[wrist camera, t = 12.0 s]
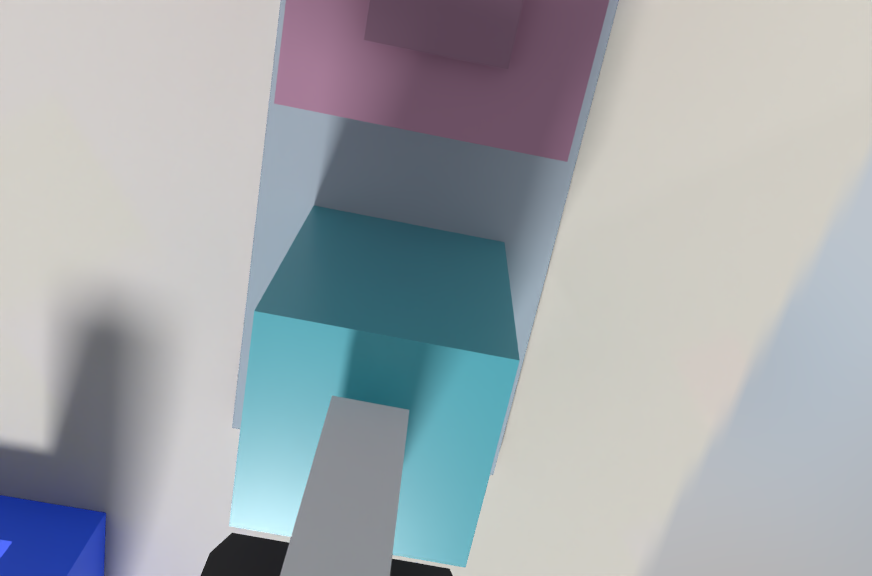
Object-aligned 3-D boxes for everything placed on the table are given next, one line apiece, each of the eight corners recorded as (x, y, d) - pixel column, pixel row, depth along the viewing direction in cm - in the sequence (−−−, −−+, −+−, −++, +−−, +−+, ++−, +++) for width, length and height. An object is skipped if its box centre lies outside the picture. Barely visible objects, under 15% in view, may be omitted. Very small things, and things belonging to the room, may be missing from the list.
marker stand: (237, 417, 26) (148, 605, 18) (315, -262, 19) (222, -387, 11) (492, 463, 26) (503, 665, 19) (663, -187, 19) (784, -262, 12)
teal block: (313, 205, 22) (254, 310, 16) (504, 241, 22) (519, 360, 16) (290, 373, 24) (229, 526, 18) (465, 405, 24) (465, 567, 18)
